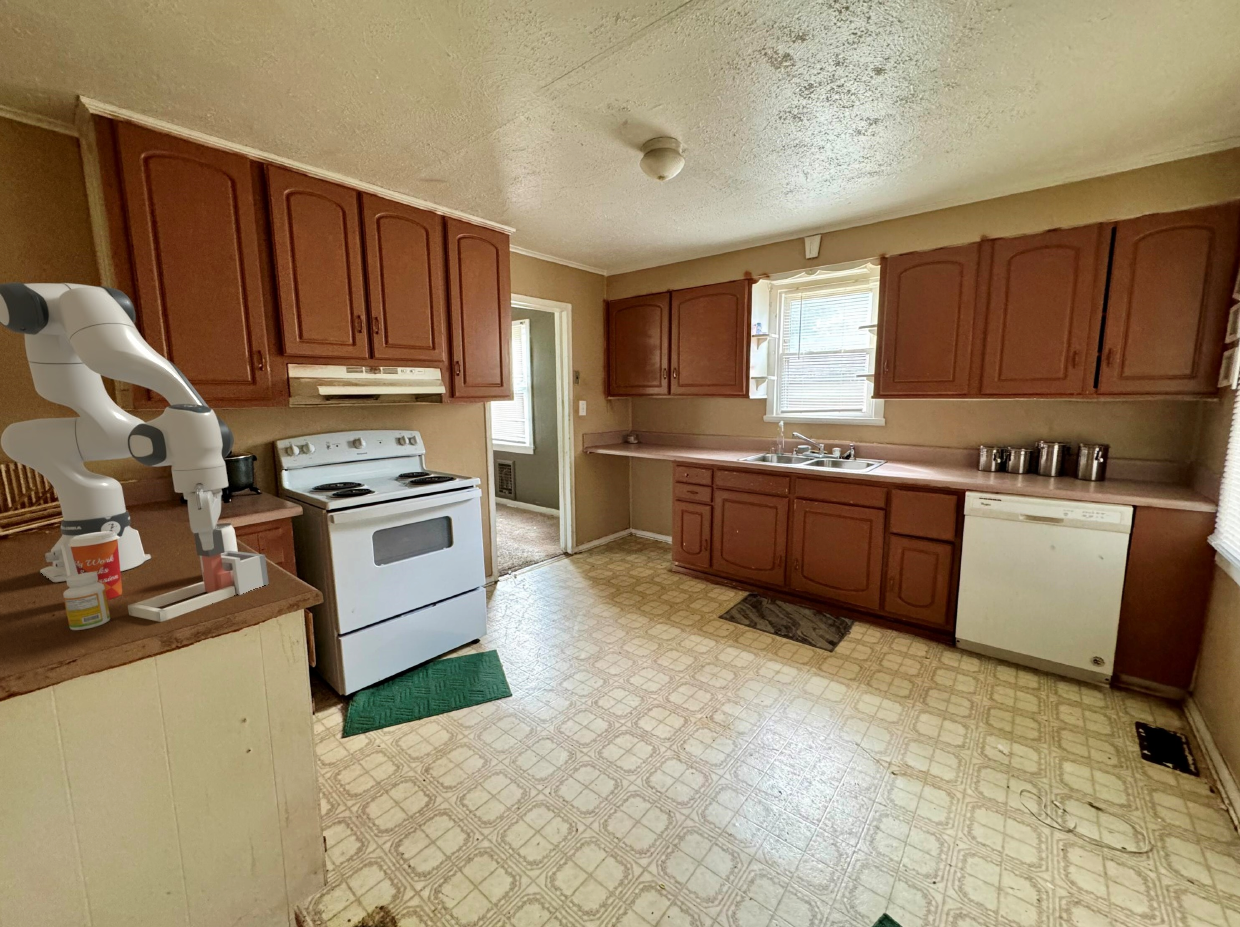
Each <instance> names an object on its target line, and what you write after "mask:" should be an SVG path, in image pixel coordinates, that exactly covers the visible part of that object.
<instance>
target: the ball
mask: <svg viewBox="0 0 1240 927" xmlns="http://www.w3.org/2000/svg"><path fill="white" fill-rule="evenodd" d="M230 572H231V579H232V586H234V587H235V581H234V574H233V570H231V571H230Z"/></svg>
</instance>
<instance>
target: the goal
mask: <svg viewBox="0 0 1240 927" xmlns="http://www.w3.org/2000/svg"><path fill="white" fill-rule="evenodd" d="M221 559H222V566H223V571H231V570H233V574H234V581H235V594H236V595H237V594H238V595H237V596H242V595H244V594H247V593H248V591H250V590H252V591H254V590H253V589H255V588H258V589H260V588H259V587H261V588H263V587H262V586H264V585H266V586H269V585H270V583H269V576H268V569H267V568H268V566H267V560H266V554H262V553H261V554H259V553H253V552H243V551H238V552H237V551H227V552H225V553H221ZM199 560H200V561H199V562H200V567H201V573H202V574H201V575H202V576H203V572H204V568H203V561H202V556H199ZM202 580H203V581H202V582H204V579H203V578H202ZM268 584H269V585H268ZM264 587H265V586H264ZM255 590H256V589H255ZM246 592H247V593H246ZM250 592H251V591H250ZM243 593H244V594H243Z"/></svg>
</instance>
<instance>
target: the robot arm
mask: <svg viewBox="0 0 1240 927" xmlns="http://www.w3.org/2000/svg"><path fill="white" fill-rule="evenodd" d="M135 323H136V311H135V307H134V304H133V302H132V300H131V299H130V298H129V297H128V294H127V295H126V294H125V292H123V291H122V290H119V289H118V288H113V287H110V286H109V287H108V286H104V285H103V286H102V285H99V286H94V285H89V284H80V283H70V282H69V283H68V282H61V283H54V282H53V283H52V282H51V283H50V282H49V283H47V282H46V283H44V282H40V283H39V282H37V283H34V282H33V283H22V282H19V281H18V282H17V281H16V282H15V281H14V282H6V283H0V325H1V326H3V327H4V328H5V329H7V330H9V331H11V332H13V333H17V334H24V345H25V352H26V357H27V361H28V365H29V369H30V373H31V377H32V381H33V386H34V390H35V391H36V393H37V394H38V395H39V396H41V398H44V399H45V400H47V401H48V402H51V403H55V404H58V405H60V406H61V405H62V406H65V407H68V408H70V409H72V410H73V411H74V412H76V413H77V415H79V416H77V417H57V418H56V417H53V418H36V419H30V420H25V421H19V422H13V423H11V424H9V425H8V426H7V427H6V428H5V429H4V431H3V432H2V434H1V437H0V445H1V449H2V450H3V452H4V453H5V455H7V457H9V458H10V459H11V460H13V461H14V462H16V463H19V464H21V465H24V466H26V467H29V468H31V469H33V470H34V471H36V472H37V473H39V474H40V475H42V476H43V477H44V478H45V479H46V480H47V481H48V482H49V483H50V484H51V485H52V488H54V490H55V493H56V496H57V499H58V501H59V502H58V503H59V505H60V510H61V514H62V518H63V519H62V520H61V521H60V522H61V525H60V534H62V535H61V536H60V538H59V539H58V541H57V542H56V543H55V545H53V547H52V548H51V550H50V552H46V553H45V556H44V557H45V560H46V562H47V563H52V565H49V566H46V567H44V568H41V569H40V570H39V571H40V574H41V573H42V574H43V575H42V574H41V575H42V576H44V577H45V576H46V577H45V578H47V579H48V578H49V580H50V581H51V582H53V583H59V582H67V581H66V579H67V578H68V577H71V576H74V575H78V572H77V569H76V565H75V562H74V559H73V554H72V551H71V547H70V546H68V544H69V543H70V539H72V538H74V537H75V536H79V535H84V534H89V533H95V532H104V531H113V532H115V534H117V536H119V537H120V538H119V539H117V540H118V551H119V561H120V572H123V571H126V570H130V569H133V568H136V567H138V566H140V565H142V564H143V563H144V562H146V561H147V560H150V559H151V558H152V556H151V554H149V553H148V554H147V553H145V551H144V548H143V544H142V540H141V536H140V534H139V531H138V530H137V529H135V528H132V527H131V526H130V525H131V524H132V522H131V516H130V514H129V511H127V510H126V509H127V508H126V504H125V499H124V497H125V496H124V491H123V487H122V485H121V483H120V482H119V480H117V479H115V478H114V477H111V476H108V475H104V474H100V473H96V472H92V471H90V470H88V469H87V468H86V467H85V465H84V463H86V462H93V461H95V462H96V461H106V460H107V461H109V460H121V459H127V458H131V457H132V458H133V459H134V460H135V461H137V462H138V463H140V464H142V465H143V466H145V467H165V466H171V474H172V482H173V490H174V492H175V493H178V494H181V493H182V495H183V499H184V500H187V511H188V518H189V519H188V520H189V526H190V531H191V532H192V533H193V534H194V533H199V537H200V540H201V543H202V548H203V550H212V549H213V548H214V542H213V535H212V530H214V529H215V530H217V524H218V520H219V518H220V515H221V511H222V495H223V490H222V489H224V488H228V487H229V481H228V474H227V472H228V471H227V465H226V461H225V460H224V459H225V458H226V457H228V455H229V454H230V452H231V451H232V450H233V447H234V445H235V444H234V443H235V437H234V434H233V431H232V430H231V428H230V427H229V426H228V425H227V423H225V422H224V421H223V420H222V419H221V418H220V417H218V415H217V414H216V413H215V411H214V409H213V408H211V407H210V406H209V405H208V404H207V403H206V401H205V400H204V399H203V398H202V396H201V395H200V393H199V392H198V391H197V390H196V389H195V387H194V386H193V385H192V383H191V382H190V380H188V378H187V377H186V375H185V374H184V373H183V372H182V371H181V370H180V369H179V368H178V366H176V365H175V364H174V363H173V362H172V361H170V360H168V359H167V358H165V357H164V356H162V355H161V354H159V353H158V352H157V351H156V350H155V349H153V348H152V346H151V345H150V344H148V342H146V340H145V339H144V338H143V337H142V335H141V333H140V332H139V330H138V329H137V327H136V325H135ZM102 376H103V377H105V378H108V379H112V380H115V381H120V382H125V383H129V384H133V385H137V386H140V387H144V388H146V389H149V390H151V391H153V392H155V393H158V394H159V395H161V396H162V397H163V398H165V400H166V401H167V402H168V403H169V404H170V405H169V406H167V407H165V409H164V411H163V413H162V414H161V415H159V416H158V417H156V418H154V419H151V420H149V421H146V422H145V421H144V420H142V419H140V417H136V416H134V415H133V414H130V413H128V412H127V411H125V410H124V409H122V408H121V407H120V406H118V405H117V404H116V402H114V401H113V400H112V398H111V397H110V396H109V393H108V392H107V390H106V388H105V385H104V382H103V379H102Z"/></svg>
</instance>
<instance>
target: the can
mask: <svg viewBox="0 0 1240 927" xmlns="http://www.w3.org/2000/svg"><path fill="white" fill-rule="evenodd" d="M232 525H233V524H232V522H220V523H217V530H221V531H222V538H223V544H224V551H225V552H227V551H237V552H239V551H238V545H237V536H236V532H235V528H234V526H232Z"/></svg>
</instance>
